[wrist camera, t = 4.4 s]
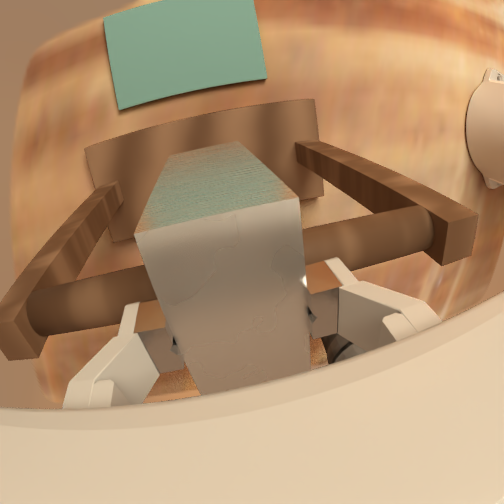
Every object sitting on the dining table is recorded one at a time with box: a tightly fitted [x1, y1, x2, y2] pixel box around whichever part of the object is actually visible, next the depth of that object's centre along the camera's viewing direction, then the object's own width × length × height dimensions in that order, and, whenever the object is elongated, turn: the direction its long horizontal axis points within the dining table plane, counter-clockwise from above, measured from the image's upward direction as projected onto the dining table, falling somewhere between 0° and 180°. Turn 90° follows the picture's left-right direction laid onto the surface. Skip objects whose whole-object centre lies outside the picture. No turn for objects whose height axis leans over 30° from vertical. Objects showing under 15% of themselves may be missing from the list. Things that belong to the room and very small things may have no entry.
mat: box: [103, 0, 267, 110], centre depth 23 cm, size 14×10×1 cm
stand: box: [0, 99, 478, 361], centre depth 19 cm, size 22×10×22 cm, turn 99°
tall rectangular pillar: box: [134, 141, 311, 395], centre depth 14 cm, size 4×7×11 cm, turn 8°
